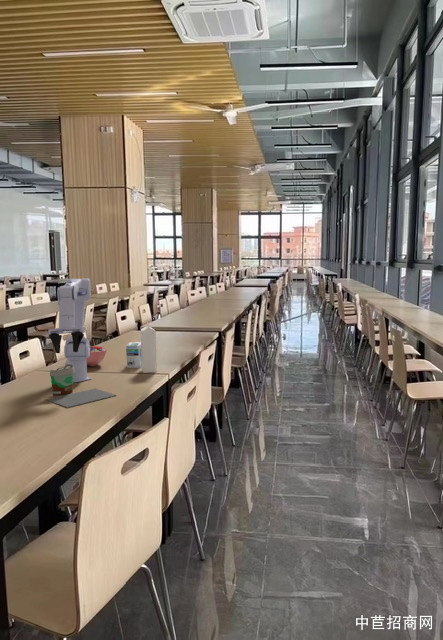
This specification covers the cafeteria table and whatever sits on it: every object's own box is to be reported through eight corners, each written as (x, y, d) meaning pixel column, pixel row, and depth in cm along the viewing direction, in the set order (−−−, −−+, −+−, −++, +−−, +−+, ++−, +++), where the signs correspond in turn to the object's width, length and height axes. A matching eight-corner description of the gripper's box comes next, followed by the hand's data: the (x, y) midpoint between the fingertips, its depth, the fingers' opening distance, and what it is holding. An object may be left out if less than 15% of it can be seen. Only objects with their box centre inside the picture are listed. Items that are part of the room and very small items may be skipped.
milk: (143, 373, 219) (141, 324, 216) (141, 370, 225) (140, 322, 222) (157, 372, 221) (155, 323, 218) (154, 369, 226) (153, 321, 224)
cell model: (96, 371, 223) (95, 346, 222) (58, 368, 229) (57, 344, 228) (114, 363, 239) (113, 340, 238) (78, 361, 245) (77, 339, 244)
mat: (47, 400, 177) (47, 399, 177) (95, 389, 192) (95, 388, 192) (67, 408, 168) (67, 407, 168) (116, 396, 182) (116, 394, 182)
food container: (65, 397, 181) (64, 371, 179) (50, 396, 182) (49, 370, 181) (81, 389, 193) (80, 364, 191) (67, 388, 194) (66, 363, 193)
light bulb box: (140, 368, 229) (140, 345, 228) (126, 368, 229) (125, 345, 228) (144, 363, 240) (143, 341, 238) (130, 363, 240) (130, 341, 238)
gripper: (43, 316, 184) (43, 352, 182) (78, 314, 181) (78, 350, 179) (54, 319, 191) (54, 354, 189) (88, 316, 188) (87, 352, 186)
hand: (66, 352), depth 184 cm, fingers open, 7 cm apart
